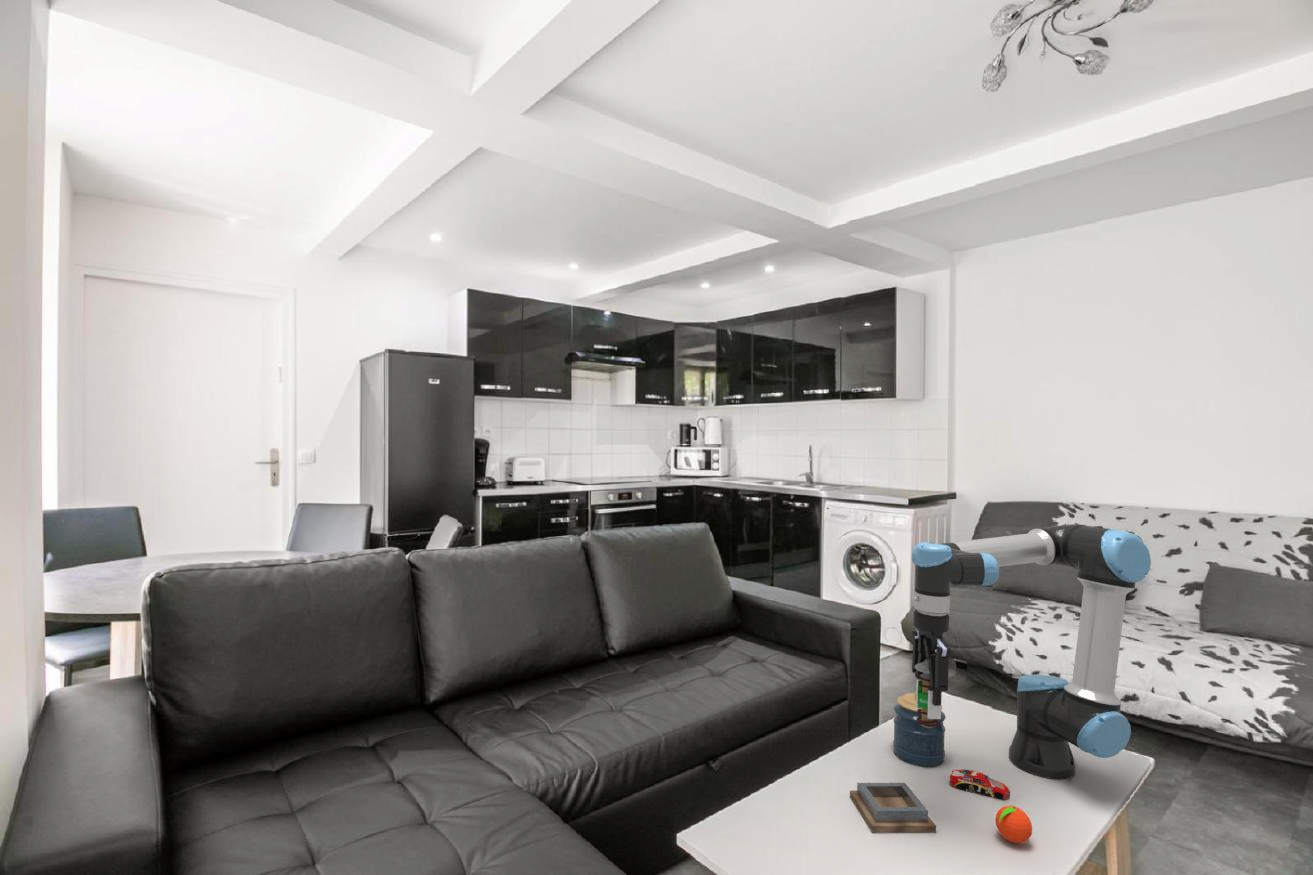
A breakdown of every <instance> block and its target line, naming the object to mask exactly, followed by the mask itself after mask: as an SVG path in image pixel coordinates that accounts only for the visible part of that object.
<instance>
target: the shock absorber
mask: <svg viewBox="0 0 1313 875" xmlns="http://www.w3.org/2000/svg"><path fill="white" fill-rule="evenodd" d="M915 669H916V670H918V671H920V672H923V673H920V674H918V677H919V678H920V679H922V680H923V681H919V680H918V691H917V695H918V707H921V708H922V709H918V710H917V712H919V713H921V714H922V717H918V718H917V719H916V721H917V722H918V723H919V724H921V725H922V726H924V727H926V728H933V727H936V726H938V725H939V722H938V720H939V719H936V720H935V719H929V718H927V716H928V688H931V685H930V671H929V661H928V659H925V661H924V662H921V663H918V664H916V665H915Z"/></svg>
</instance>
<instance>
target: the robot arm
mask: <svg viewBox="0 0 1313 875" xmlns="http://www.w3.org/2000/svg"><path fill="white" fill-rule="evenodd" d="M1151 560H1152V559H1151V554H1150V550H1149V548H1148V546H1147V544H1145V543H1144V541H1143V540H1142V539H1141V538H1140V537H1139V536H1137V535H1136V534H1134V533H1131V532H1128V531H1124V530H1120V529H1117V528H1116V529H1114V528H1113V529H1111V528H1106V527H1100V526H1099V527H1098V526H1093V525H1085V524H1076V523H1075V524H1074V523H1072V524H1063V525H1053V526H1047V527H1041V528H1040V527H1038V528H1033V529H1031V530H1029V531H1028V533H1024V534H1023V533H1021V534H1014V535H1004V536H997V537H995V536H994V537H988V538H980V539H979V538H977V539H970V540H969V539H968V540H962V541H952V542H944V543H943V542H942V543H934V542H931V541H930V542H928V541H922V542H920V543H918V544H916V545H915V546H914V547H913V549H912V551H911V561H912V563H913V565H914V566H915V567H914V569H915V570H914V596H913V597H912V599H913V601H914V602H913V603H914V605H913V606H914V609H915V610H914V611H913V624H912V625H913V627H915V628H916V629H917V630H912V632H911V633H912V635H911V636H912V656H911V658H912V659H911V672H912V673H913V674H914V676H915V679H916V689H915V691H916V708H921V707H918V695H917V691H918V680H919V681H923V680H922V679H920V678H919V677H918V674H920V673H923V672H920V671H918V670H916V669H915V665H916V664H918V663H921V662H924V661H925V659H928V661H929V671H930V685H931V688H928V716H927V718H929V719H941V711H942V710H941V705H942V698H943V697H942V695H943V694H942V693H943V692H948V691H949V665H950V664H949V663H950V662H949V660H950V659H949V658H950V653H951V648H950V647H949V646H945V645H944V637H943V636H944V635H943V634H944V633H947V632H948V631H949V629H950V615H949V614H948V613H950V609H951V608H950V606H951V588H952V587H965V586H966V587H984V586H985V587H986V586H991V585H994V584H995V583H996V582H997V581H998V579H999V577H1000V568H1001V567H1008V566H1017V565H1026V564H1033V563H1035V564H1037V565H1039V566H1048V565H1049V566H1051V565H1052V566H1053V565H1054V566H1060V567H1066V568H1070V569H1075V570H1077V580H1078V581H1079V582H1080V583H1081V584H1082V587H1083V591H1082V597H1081V607H1080V615H1079V623H1078V631H1077V637H1076V638H1077V641H1076V647H1075V655H1074V662H1073V663H1074V664H1073V670H1072V671H1073V673H1072V680H1071V682H1070V683H1069V681H1068V680H1066V679H1065V678H1061V677H1058V676H1053V675H1048V674H1026V675H1025V674H1024V675H1022V676H1020V677H1019V678H1018V681H1017V689H1016V730H1015V734H1014V736H1013V739H1012V740H1011V744H1010V746H1009V747H1008V758H1009V761H1010V762H1011V763H1012V764H1013V765H1014V766H1016V767H1018V768H1019V769H1021V770H1022V771H1025V772H1027V773H1030V774H1032V775H1034V776H1038V777H1042V778H1047V779H1055V780H1067V779H1070V778H1073V777H1074V776H1075V775H1076V766H1077V765H1076V761H1075V758H1074V755H1073V752H1072V749H1071V745H1070V744H1072V745H1073V746H1075V747H1077V748H1079V749H1080V751H1083V753H1084V752H1085V753H1088V754H1090V755H1092V756H1095V757H1097V758H1103V759H1108V758H1112V757H1114V756H1116V755H1119V753H1120V752H1121V751H1123V750H1124V748H1126V746H1127V744H1128V743H1129V741H1130V738H1131V735H1132V734H1131V733H1132V732H1131V731H1132V730H1131V729H1132V728H1131V724H1130V722H1129V719H1128V718H1127V717H1126V716H1125V715H1124V714H1122V713H1121V706H1122V701H1121V700H1120V699H1119V698H1118V696H1117V695H1116V693H1115V691H1116V690H1115V689H1116V683H1117V682H1116V681H1117V674H1118V666H1119V665H1118V664H1119V656H1120V648H1121V638H1122V631H1123V622H1124V614H1125V607H1126V606H1125V605H1126V597H1127V596H1128V594H1129V593H1131V592H1133V591H1135V589H1136V583H1139V582H1141V581H1143V580H1144V579H1145V578H1146V575H1149V572H1150V570H1151V567H1152V566H1151V565H1152V561H1151Z"/></svg>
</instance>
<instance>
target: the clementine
mask: <svg viewBox="0 0 1313 875" xmlns="http://www.w3.org/2000/svg"><path fill="white" fill-rule="evenodd" d="M995 826H996V829H997V830H998V832H999V834H1000V836H1002V837H1003V838H1004V839H1005V840H1007V841H1008V842H1011V843H1013V844H1023V843H1026V842H1028V841H1029V840H1030V838H1031V836H1032V833H1033V823H1032V821H1031V819H1030V817H1029V816H1028V814H1027V813H1026V812H1024V811H1023V810H1022V809H1021V808H1019V807H1018V806H1015V805H1004V806H1002V807H1001V808H999V809H998V810H997V812H996V814H995Z"/></svg>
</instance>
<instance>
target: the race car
mask: <svg viewBox="0 0 1313 875" xmlns="http://www.w3.org/2000/svg"><path fill="white" fill-rule="evenodd" d="M949 785H951V786H953V787H954V788H956V789H959V790H960V791H964V792H966V791H968V792H969V793H974V794H978V795H981V796H986V797H990V798H994V799H996V800H1000V801H1002V800H1007V799H1008V798H1010V797H1011V792H1010V789H1009V787H1008V786H1007V785H1006V784H1005V783H1003V782H1001V781H998V780H996V779H993V778H990V777H989V775H987V774H984V773H982V772H980V771H976V770H971V769H952V771H951V773H950V775H949Z"/></svg>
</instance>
